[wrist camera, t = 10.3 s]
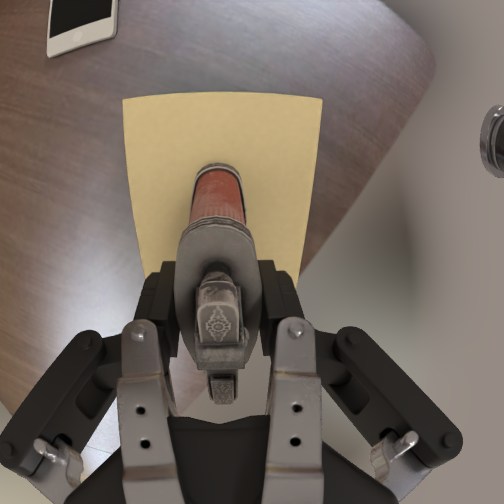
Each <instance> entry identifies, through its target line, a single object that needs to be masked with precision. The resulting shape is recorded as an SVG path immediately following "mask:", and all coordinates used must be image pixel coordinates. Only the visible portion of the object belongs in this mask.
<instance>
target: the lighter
mask: <svg viewBox="0 0 504 504" xmlns="http://www.w3.org/2000/svg"><path fill="white" fill-rule="evenodd" d="M174 298H175V309H176V317H177V322H178V325H179V328H180V331H181V335H182V338H183V341H184V343H185V345H186V347H187V349H188V351H189V353H190V355H191V357H192V358H193V360H194V362H195V363H196V364H197V369H198V370H205V374H206V380H207V386H208V392H209V398H210V400H212V401H214V403H215V404H216V405H230V404H232V403H233V402H234V401H235V400H236V399H237V397H238V369H244V368H245V364H246V363H247V361H248V360H249V358H250V355H251V353H252V350H253V348H254V346H255V343H256V340H257V336H258V331H259V326H260V321H261V311H262V285H261V279H260V273H259V267H258V261H257V255H256V249H255V244H254V239H253V237H252V234H251V232H250V230H249V229H248V228H247V214H246V204H245V198H244V192H243V186H242V181H241V177H240V174H239V172H238V171H237V170H236V169H235V168H234V167H233V166H231V165H228V164H226V163H219V162H217V163H210V164H208V165H206V166H204V167H202V168H201V169H200V170H199V171H198V172H197V175H196V177H195V180H194V184H193V190H192V197H191V203H190V214H189V224H188V226H187V227H186V228H185V229H184V230H183V232H182V235H181V237H180V240H179V244H178V249H177V255H176V266H175V277H174Z"/></svg>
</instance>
